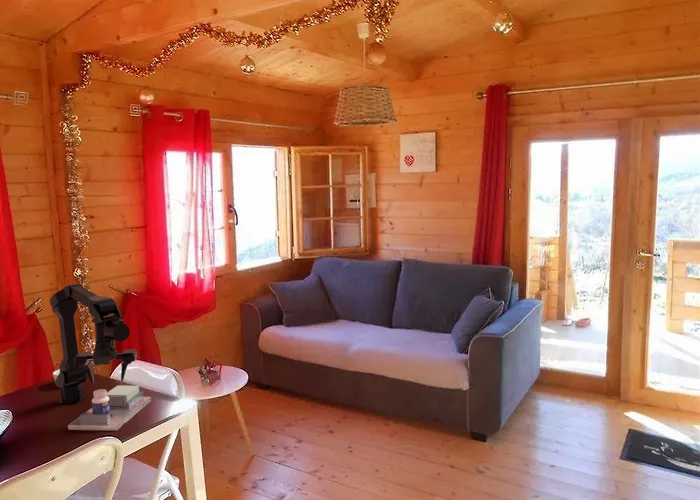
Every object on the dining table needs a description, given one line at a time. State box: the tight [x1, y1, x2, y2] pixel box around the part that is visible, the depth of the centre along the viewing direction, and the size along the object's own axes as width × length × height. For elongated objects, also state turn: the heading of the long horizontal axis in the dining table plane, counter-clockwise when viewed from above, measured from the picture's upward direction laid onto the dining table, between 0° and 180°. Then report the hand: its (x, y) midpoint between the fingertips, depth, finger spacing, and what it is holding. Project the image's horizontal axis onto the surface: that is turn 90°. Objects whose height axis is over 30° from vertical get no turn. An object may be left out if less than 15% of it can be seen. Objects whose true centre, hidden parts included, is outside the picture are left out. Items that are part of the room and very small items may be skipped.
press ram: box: [106, 385, 140, 406], centre depth 197 cm, size 8×10×4 cm
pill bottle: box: [91, 389, 110, 413], centre depth 183 cm, size 5×5×9 cm
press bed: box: [67, 390, 152, 432], centre depth 190 cm, size 16×25×4 cm, turn 175°
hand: (107, 382), depth 188 cm, fingers open, 9 cm apart
